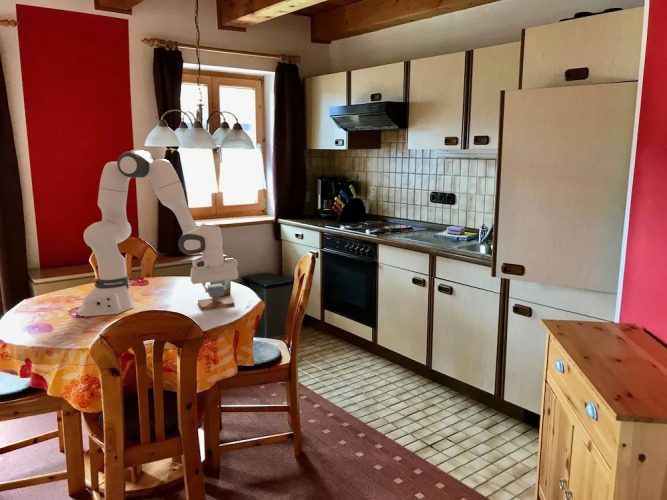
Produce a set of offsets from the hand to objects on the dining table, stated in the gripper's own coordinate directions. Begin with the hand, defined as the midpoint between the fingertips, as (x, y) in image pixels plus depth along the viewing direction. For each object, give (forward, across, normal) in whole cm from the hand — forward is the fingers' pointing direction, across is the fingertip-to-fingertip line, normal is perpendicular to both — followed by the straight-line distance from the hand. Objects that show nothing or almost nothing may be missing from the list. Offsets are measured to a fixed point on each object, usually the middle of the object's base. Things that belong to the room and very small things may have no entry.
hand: (215, 291), depth 235 cm
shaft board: (+6, 0, 0) cm, 6 cm away
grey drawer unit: (+2, 0, 0) cm, 2 cm away
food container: (+6, -6, -15) cm, 17 cm away
